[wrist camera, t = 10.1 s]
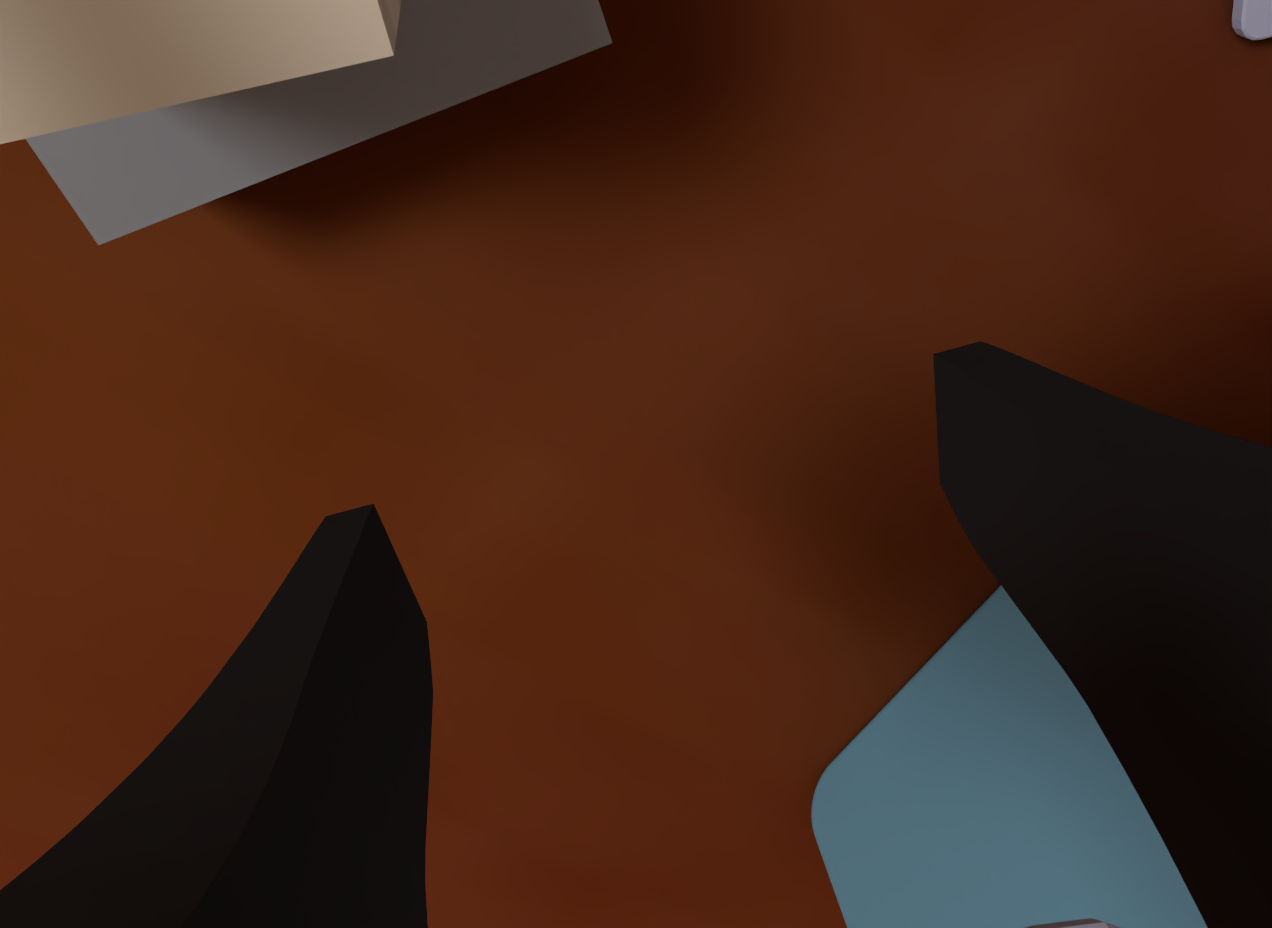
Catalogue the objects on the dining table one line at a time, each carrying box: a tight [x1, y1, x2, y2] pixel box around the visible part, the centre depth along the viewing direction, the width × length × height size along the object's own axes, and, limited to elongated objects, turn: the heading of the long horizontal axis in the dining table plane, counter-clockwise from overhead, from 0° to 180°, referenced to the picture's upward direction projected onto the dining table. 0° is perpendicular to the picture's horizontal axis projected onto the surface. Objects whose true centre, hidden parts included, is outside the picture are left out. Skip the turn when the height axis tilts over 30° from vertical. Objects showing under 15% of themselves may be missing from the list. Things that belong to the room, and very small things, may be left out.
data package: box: [812, 585, 1207, 928], centre depth 27 cm, size 12×4×12 cm, turn 147°
